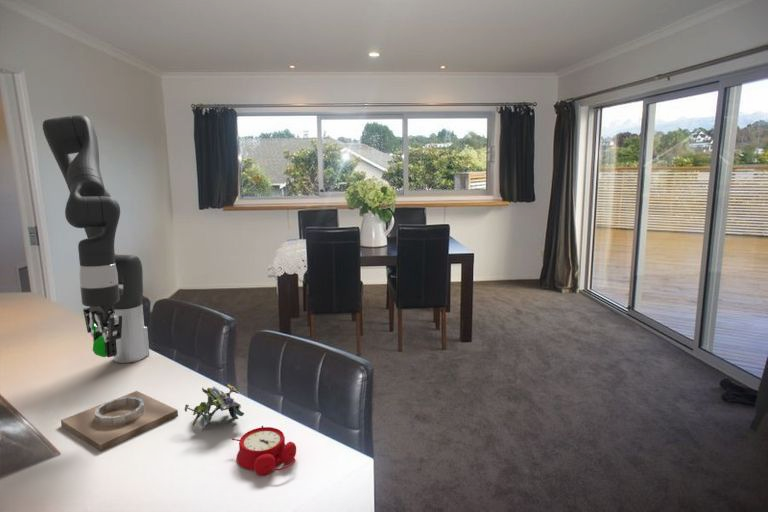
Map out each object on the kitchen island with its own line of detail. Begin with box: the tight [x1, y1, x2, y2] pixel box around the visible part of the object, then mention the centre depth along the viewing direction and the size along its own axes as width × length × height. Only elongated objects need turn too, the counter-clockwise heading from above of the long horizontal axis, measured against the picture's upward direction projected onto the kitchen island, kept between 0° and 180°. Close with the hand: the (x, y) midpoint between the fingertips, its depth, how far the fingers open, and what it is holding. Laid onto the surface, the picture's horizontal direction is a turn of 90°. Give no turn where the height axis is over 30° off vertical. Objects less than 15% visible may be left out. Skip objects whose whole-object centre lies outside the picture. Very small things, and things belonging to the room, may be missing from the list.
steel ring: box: [94, 397, 144, 426], centre depth 112 cm, size 10×10×2 cm
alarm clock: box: [231, 425, 297, 476], centre depth 97 cm, size 10×6×15 cm
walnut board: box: [60, 390, 179, 452], centre depth 112 cm, size 18×18×2 cm
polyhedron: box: [92, 336, 117, 358], centre depth 111 cm, size 5×5×5 cm
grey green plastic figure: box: [184, 382, 245, 431], centre depth 111 cm, size 11×11×12 cm
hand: (105, 353), depth 111 cm, fingers closed on polyhedron, 5 cm apart
